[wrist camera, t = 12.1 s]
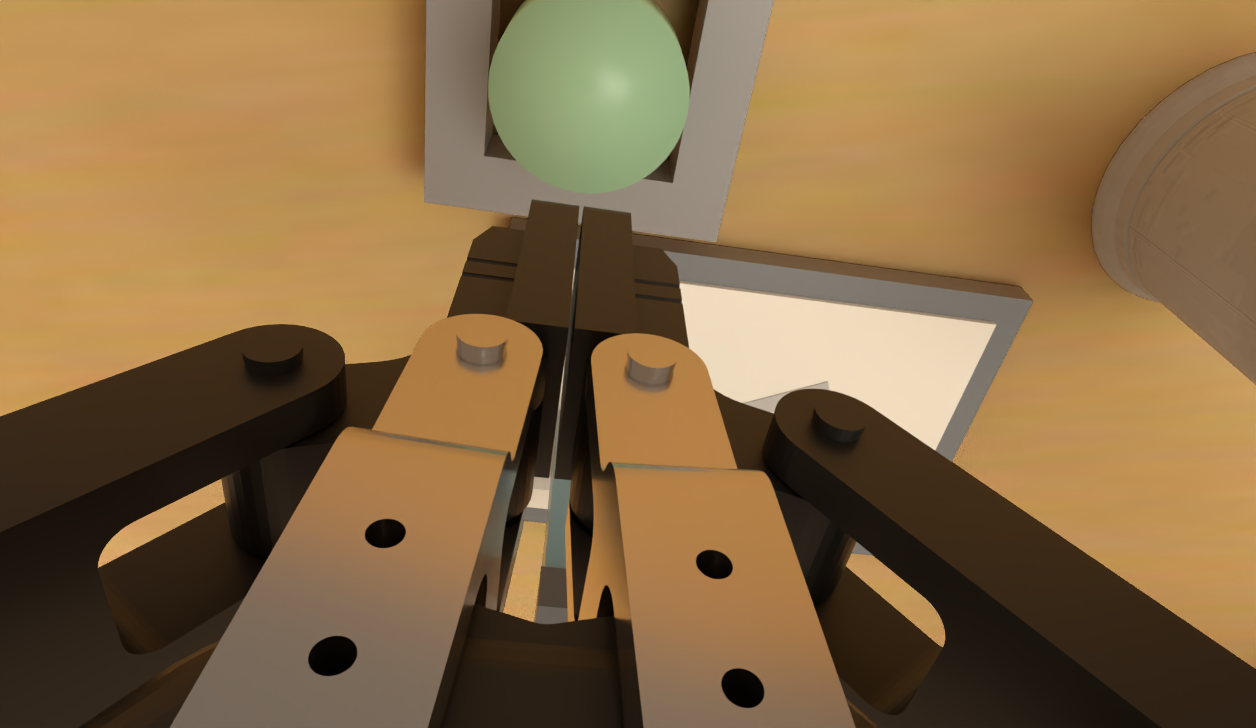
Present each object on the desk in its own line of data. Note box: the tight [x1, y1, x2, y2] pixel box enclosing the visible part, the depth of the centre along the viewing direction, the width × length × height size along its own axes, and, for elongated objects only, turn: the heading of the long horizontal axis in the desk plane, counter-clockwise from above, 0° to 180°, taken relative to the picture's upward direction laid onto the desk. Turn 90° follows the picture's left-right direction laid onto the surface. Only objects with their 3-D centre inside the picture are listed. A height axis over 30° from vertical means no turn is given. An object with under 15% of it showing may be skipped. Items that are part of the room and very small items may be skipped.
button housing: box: [424, 0, 774, 242], centre depth 22 cm, size 9×9×2 cm
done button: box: [488, 0, 690, 194], centre depth 21 cm, size 5×5×2 cm
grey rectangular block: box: [534, 410, 571, 624], centre depth 26 cm, size 4×4×9 cm
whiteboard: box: [510, 217, 1033, 555], centre depth 30 cm, size 18×13×1 cm
